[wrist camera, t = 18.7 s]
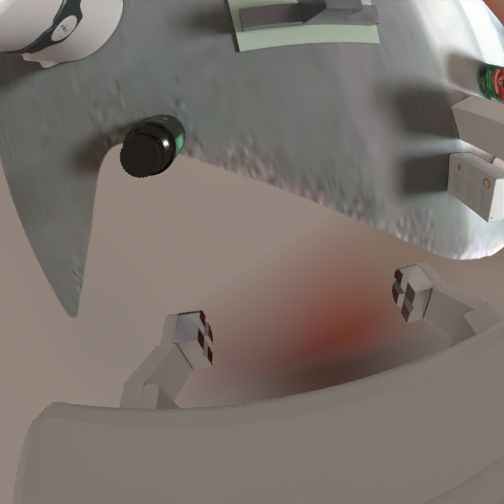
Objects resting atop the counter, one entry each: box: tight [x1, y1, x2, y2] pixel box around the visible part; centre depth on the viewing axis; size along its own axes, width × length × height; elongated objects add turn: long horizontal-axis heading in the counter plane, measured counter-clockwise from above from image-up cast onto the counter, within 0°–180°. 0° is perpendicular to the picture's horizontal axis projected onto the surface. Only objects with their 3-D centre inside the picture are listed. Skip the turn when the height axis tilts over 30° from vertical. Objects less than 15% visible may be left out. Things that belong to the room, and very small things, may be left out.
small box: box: [447, 153, 504, 222], centre depth 37 cm, size 8×6×13 cm
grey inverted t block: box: [239, 0, 380, 32], centre depth 22 cm, size 19×4×13 cm, turn 101°
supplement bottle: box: [120, 115, 185, 178], centre depth 32 cm, size 7×7×12 cm
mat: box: [228, 0, 379, 52], centre depth 28 cm, size 21×9×1 cm, turn 101°
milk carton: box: [451, 95, 504, 161], centre depth 28 cm, size 7×7×19 cm
